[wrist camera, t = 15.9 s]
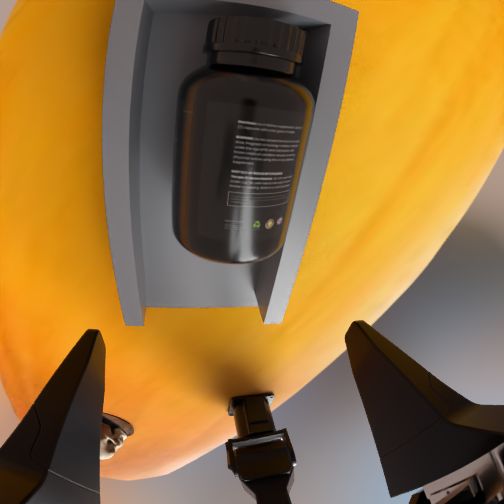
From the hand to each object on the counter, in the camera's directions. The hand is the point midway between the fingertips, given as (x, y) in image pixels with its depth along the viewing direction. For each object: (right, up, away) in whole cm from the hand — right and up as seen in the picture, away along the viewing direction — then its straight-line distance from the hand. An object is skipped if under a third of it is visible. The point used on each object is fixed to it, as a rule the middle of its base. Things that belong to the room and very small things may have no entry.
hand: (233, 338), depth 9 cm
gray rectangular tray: (-2, +8, +10) cm, 13 cm away
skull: (-27, -28, +30) cm, 49 cm away
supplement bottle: (-1, +4, +8) cm, 9 cm away
